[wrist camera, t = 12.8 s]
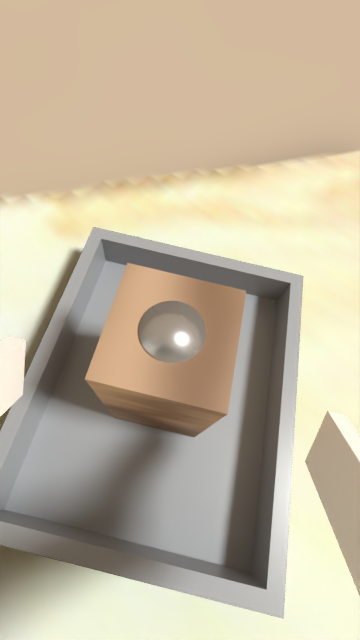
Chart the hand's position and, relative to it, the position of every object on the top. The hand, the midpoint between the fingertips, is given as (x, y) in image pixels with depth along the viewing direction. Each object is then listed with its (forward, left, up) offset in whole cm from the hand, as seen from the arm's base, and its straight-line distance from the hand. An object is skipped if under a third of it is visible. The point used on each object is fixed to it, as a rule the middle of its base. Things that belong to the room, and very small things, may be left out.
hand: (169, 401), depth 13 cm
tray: (-1, +3, -11) cm, 12 cm away
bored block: (-1, +3, -10) cm, 11 cm away
